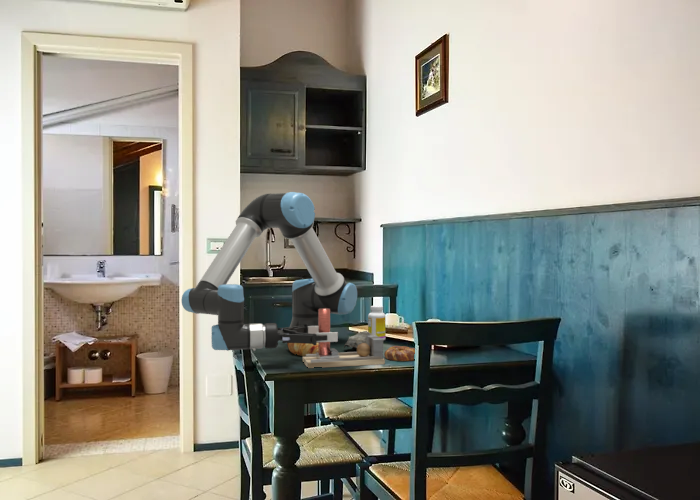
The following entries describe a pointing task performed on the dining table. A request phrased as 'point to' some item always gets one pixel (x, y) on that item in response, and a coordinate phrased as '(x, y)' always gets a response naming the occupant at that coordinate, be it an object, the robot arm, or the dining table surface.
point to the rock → (357, 339)
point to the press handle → (324, 327)
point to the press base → (352, 356)
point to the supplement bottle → (377, 322)
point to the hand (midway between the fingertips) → (332, 333)
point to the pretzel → (400, 353)
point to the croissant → (303, 348)
